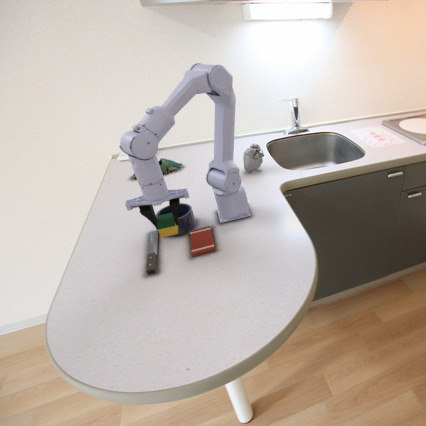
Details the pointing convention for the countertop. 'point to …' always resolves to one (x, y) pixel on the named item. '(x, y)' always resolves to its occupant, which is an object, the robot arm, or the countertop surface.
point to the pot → (181, 218)
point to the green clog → (166, 165)
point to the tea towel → (202, 241)
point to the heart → (253, 158)
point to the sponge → (167, 225)
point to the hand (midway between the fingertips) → (168, 225)
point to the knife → (152, 253)
